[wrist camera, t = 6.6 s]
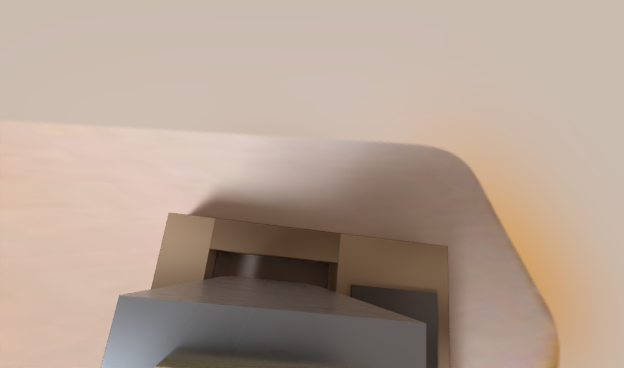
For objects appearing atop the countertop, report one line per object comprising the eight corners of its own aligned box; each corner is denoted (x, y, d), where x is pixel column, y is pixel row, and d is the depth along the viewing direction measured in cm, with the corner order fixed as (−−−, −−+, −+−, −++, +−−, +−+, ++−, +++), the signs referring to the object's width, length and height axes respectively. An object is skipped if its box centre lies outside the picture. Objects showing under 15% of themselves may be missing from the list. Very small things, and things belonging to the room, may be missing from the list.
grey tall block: (304, 381, 15) (440, 791, 3) (210, 374, 14) (-35, 832, 3) (313, 284, 16) (436, 326, 4) (227, 275, 16) (108, 296, 4)
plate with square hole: (424, 427, 17) (453, 456, 14) (140, 411, 15) (113, 441, 13) (425, 248, 19) (449, 246, 17) (182, 219, 18) (167, 211, 15)
